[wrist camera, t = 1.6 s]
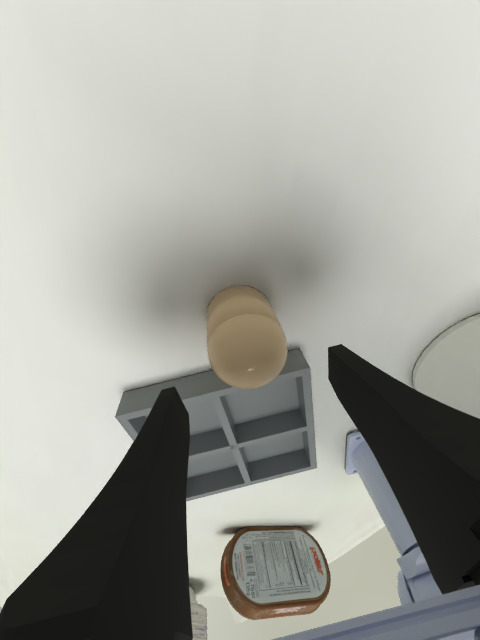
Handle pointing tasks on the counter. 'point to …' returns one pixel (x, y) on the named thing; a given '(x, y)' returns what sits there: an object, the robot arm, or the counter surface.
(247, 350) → the egg
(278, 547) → the tin
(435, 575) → the robot arm
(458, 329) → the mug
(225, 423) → the grey compartment tray
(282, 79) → the counter surface
